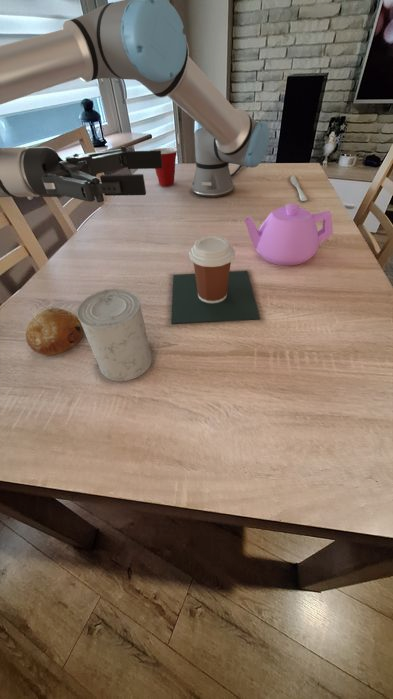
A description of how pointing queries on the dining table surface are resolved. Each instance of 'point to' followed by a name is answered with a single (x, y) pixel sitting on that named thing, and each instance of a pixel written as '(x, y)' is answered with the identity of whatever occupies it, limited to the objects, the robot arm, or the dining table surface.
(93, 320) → the grey tin can
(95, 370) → the dining table surface
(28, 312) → the dining table surface
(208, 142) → the robot arm
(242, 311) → the mat
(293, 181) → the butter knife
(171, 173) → the plastic cup
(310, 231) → the teapot
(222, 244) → the coffee cup
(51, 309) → the bread roll
